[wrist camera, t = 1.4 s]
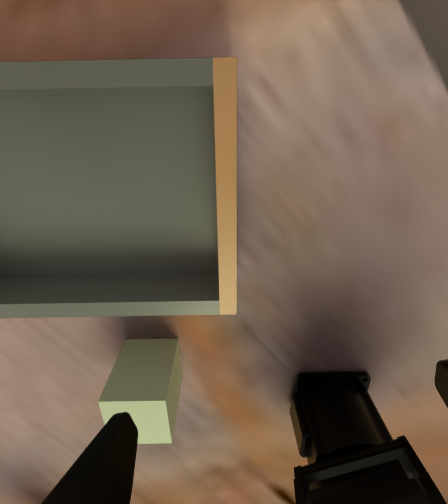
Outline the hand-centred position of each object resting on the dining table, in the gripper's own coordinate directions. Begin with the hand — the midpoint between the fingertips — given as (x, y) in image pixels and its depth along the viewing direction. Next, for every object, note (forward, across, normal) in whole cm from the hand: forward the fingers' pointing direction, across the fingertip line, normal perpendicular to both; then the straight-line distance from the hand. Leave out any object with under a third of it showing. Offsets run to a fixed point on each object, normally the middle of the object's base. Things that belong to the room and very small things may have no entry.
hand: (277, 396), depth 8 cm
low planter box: (+13, +9, -5) cm, 17 cm away
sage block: (+13, +10, +10) cm, 20 cm away
